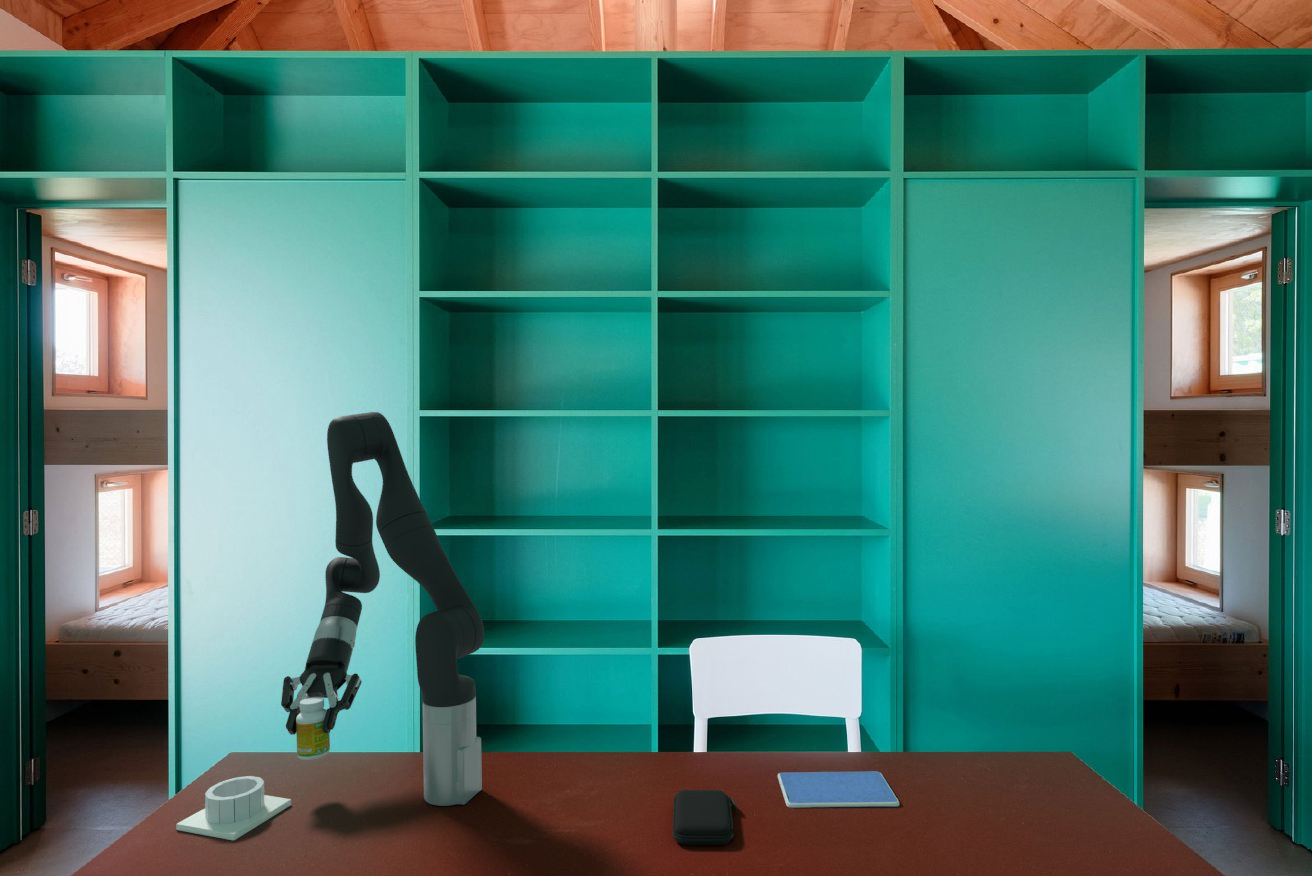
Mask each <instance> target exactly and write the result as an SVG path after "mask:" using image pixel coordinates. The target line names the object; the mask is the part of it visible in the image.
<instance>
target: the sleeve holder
mask: <svg viewBox="0 0 1312 876" xmlns="http://www.w3.org/2000/svg"><path fill="white" fill-rule="evenodd" d="M204 801H205V802H204V808H203V809H201V810H199V811H197V812H196V813H194V814H192V815H190V816H188V817H186V818H184V819H182V820H180V821H179V822H177V823H176V826H175V827H176V828H175V829H176V831H180V832H186V833H191V834H196V835H201V836H206V837H207V836H208V837H212V838H213V837H214V838H219V839H223V840H230V841H233V842H234V841H236V840H238V838H240V837H242V836H244V835H245V834H247V833H248V832H251V831H252V830H253V829H255V828H257V827H259V826H260V825H262V824H263V823H265V822H266V821H268V820H269V819H271V818H273V817H274V816H276V815H278V814H279V813H280V812H282V811H284V810H285V809H287V808H289V807H290V806H291V805H292V799H291V798H286V797H285V798H284V797H279V796H273V795H267V794H265V781H264V780H263V779H262V778H261V777H260V776H253V775H248V776H247V775H245V776H237V777H233V778H230V779H226V780H223V781H220V782H218V783H216V784H214V785H212V786H210V787H209V788H208V789H207V791H206V792H205V793H204Z"/></svg>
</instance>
